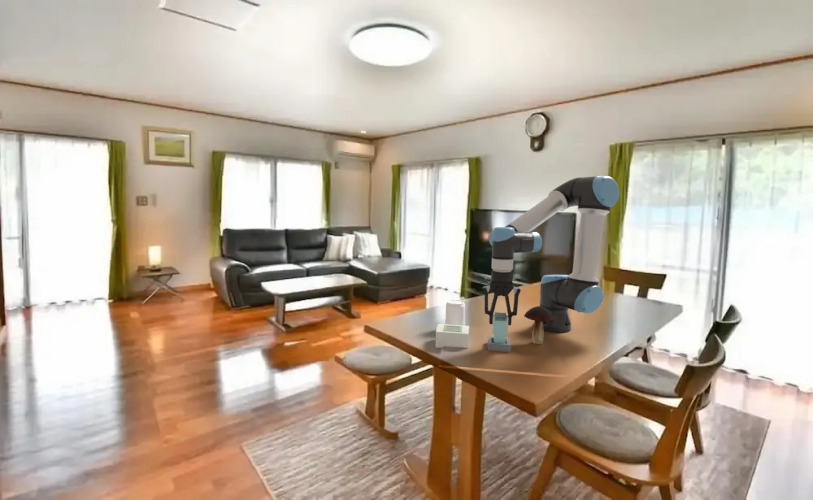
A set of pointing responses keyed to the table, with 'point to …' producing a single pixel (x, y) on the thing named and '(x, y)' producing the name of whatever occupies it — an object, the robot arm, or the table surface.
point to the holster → (498, 345)
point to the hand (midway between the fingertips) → (499, 333)
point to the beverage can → (455, 312)
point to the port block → (452, 336)
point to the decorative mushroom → (538, 322)
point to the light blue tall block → (500, 328)
